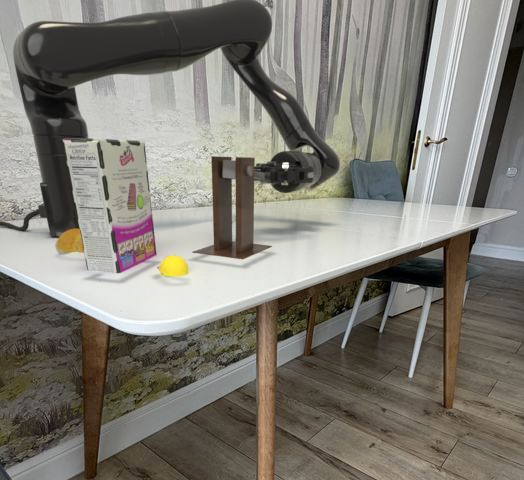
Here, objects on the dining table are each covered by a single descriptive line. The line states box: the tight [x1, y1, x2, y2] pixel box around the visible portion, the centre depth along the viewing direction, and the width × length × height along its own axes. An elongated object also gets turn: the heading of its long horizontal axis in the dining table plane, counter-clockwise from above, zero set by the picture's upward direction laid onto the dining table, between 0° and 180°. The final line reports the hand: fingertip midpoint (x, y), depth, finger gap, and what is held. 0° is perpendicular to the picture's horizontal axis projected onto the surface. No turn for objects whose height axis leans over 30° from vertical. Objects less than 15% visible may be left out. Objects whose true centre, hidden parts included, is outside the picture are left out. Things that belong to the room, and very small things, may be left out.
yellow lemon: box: [156, 254, 189, 277], centre depth 51 cm, size 3×6×4 cm, turn 44°
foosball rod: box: [223, 160, 271, 182], centre depth 64 cm, size 13×5×2 cm, turn 155°
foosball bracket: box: [191, 156, 273, 260], centre depth 62 cm, size 11×9×15 cm
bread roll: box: [54, 229, 84, 255], centre depth 63 cm, size 8×9×4 cm
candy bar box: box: [63, 137, 157, 274], centre depth 52 cm, size 11×5×16 cm, turn 168°
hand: (257, 175), depth 66 cm, fingers closed on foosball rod, 5 cm apart
